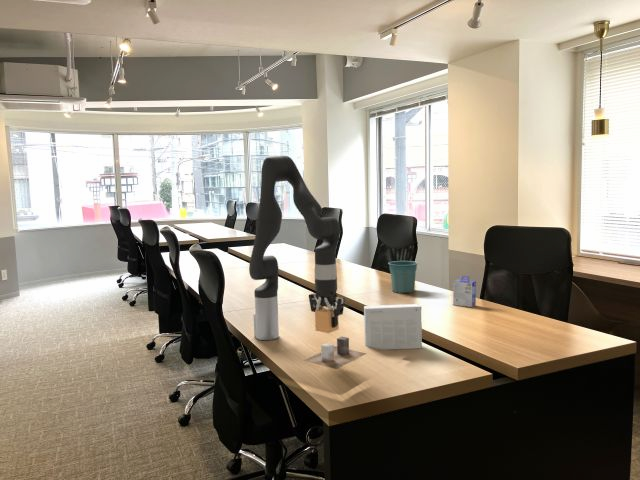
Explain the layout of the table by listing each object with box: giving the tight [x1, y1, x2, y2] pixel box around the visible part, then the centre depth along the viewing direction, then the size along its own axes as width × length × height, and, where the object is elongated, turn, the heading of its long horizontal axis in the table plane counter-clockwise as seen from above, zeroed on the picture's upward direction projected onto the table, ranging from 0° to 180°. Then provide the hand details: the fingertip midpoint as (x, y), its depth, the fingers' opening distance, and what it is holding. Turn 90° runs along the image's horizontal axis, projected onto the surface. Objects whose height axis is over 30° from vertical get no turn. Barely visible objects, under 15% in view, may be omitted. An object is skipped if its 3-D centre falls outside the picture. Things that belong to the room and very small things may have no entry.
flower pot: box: [387, 260, 418, 294], centre depth 284 cm, size 16×16×16 cm
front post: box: [320, 342, 335, 363], centre depth 173 cm, size 3×3×6 cm
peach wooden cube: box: [314, 307, 340, 334], centre depth 172 cm, size 6×6×7 cm
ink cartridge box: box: [452, 275, 477, 308], centre depth 250 cm, size 10×6×14 cm, turn 53°
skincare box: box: [363, 303, 423, 351], centre depth 190 cm, size 21×6×16 cm, turn 92°
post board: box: [304, 336, 367, 370], centre depth 177 cm, size 14×18×7 cm
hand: (327, 325), depth 172 cm, fingers closed on peach wooden cube, 5 cm apart
